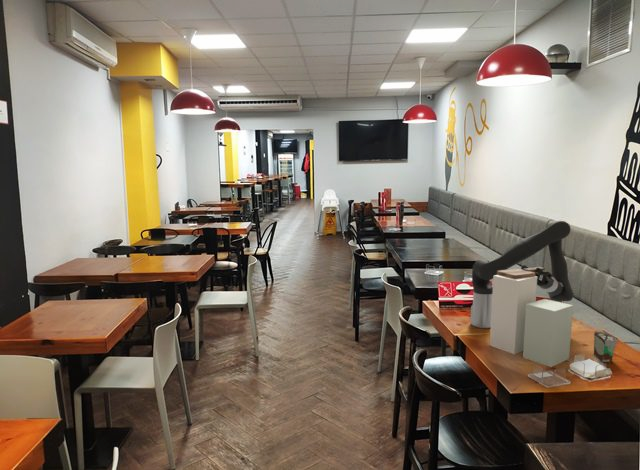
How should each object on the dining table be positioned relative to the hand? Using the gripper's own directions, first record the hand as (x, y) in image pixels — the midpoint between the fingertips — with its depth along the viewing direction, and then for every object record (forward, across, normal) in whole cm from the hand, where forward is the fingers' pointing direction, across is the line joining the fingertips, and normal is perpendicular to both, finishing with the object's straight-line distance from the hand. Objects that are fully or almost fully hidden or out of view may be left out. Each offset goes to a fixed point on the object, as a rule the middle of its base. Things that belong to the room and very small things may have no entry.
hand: (529, 268), depth 208 cm
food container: (-24, +31, +26) cm, 47 cm away
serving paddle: (+2, 0, +4) cm, 4 cm away
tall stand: (-8, 0, +35) cm, 36 cm away
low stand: (-8, +16, +35) cm, 39 cm away
